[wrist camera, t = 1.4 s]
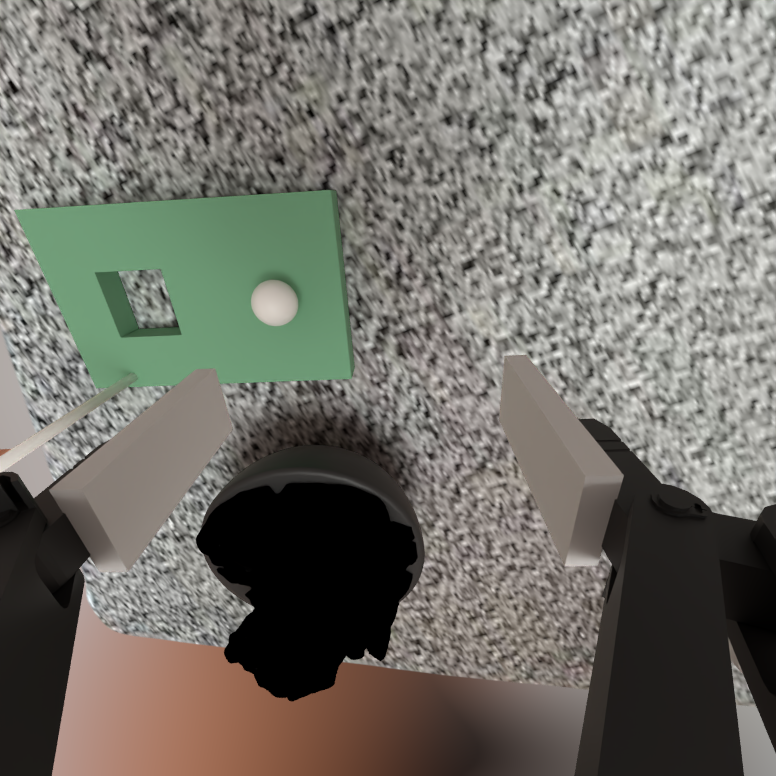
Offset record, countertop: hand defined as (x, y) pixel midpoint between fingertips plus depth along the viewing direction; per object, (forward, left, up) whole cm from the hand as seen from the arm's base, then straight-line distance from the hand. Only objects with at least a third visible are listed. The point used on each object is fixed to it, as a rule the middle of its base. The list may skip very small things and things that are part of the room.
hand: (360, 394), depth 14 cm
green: (0, -15, -20) cm, 25 cm away
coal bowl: (+21, -7, -20) cm, 30 cm away
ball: (0, -8, -16) cm, 18 cm away
